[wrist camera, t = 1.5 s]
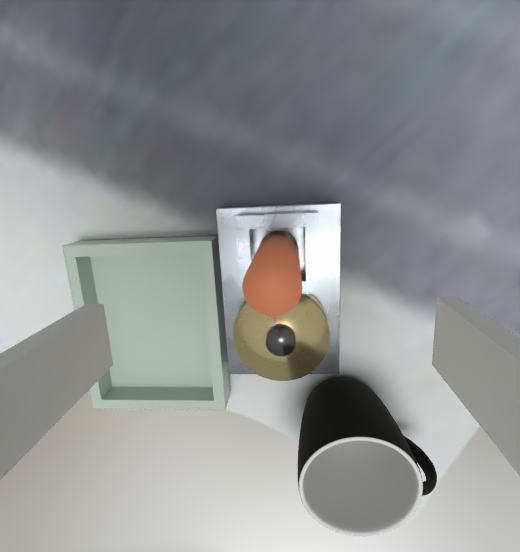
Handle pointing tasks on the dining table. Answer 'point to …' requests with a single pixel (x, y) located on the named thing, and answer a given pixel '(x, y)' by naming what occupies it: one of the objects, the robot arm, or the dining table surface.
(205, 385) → the tray
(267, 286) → the pin
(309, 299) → the pulley block
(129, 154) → the dining table surface
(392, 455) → the mug
